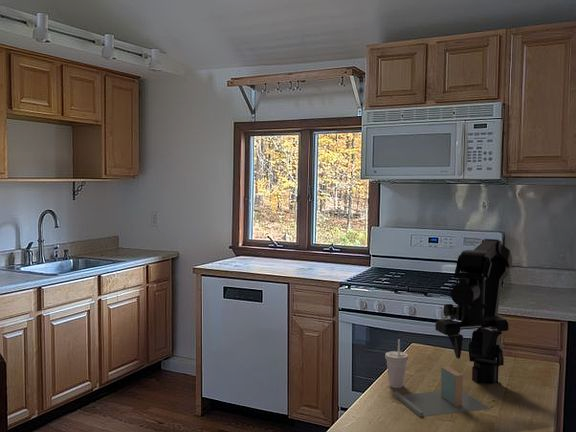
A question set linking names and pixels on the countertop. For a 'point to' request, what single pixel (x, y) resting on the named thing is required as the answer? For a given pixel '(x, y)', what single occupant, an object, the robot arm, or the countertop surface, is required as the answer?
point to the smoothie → (396, 367)
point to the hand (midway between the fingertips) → (471, 357)
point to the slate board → (438, 403)
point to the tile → (451, 386)
